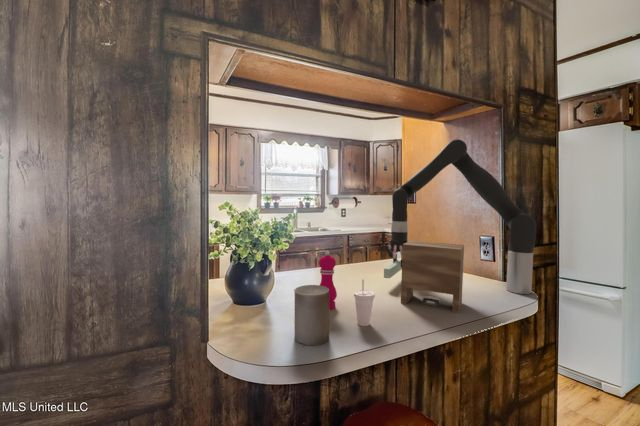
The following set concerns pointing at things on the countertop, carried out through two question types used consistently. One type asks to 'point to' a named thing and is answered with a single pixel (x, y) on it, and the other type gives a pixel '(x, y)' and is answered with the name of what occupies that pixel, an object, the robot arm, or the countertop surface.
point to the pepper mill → (328, 276)
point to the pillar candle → (311, 314)
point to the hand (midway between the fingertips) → (398, 266)
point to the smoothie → (363, 305)
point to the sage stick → (392, 269)
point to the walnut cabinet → (432, 270)
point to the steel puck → (431, 300)
